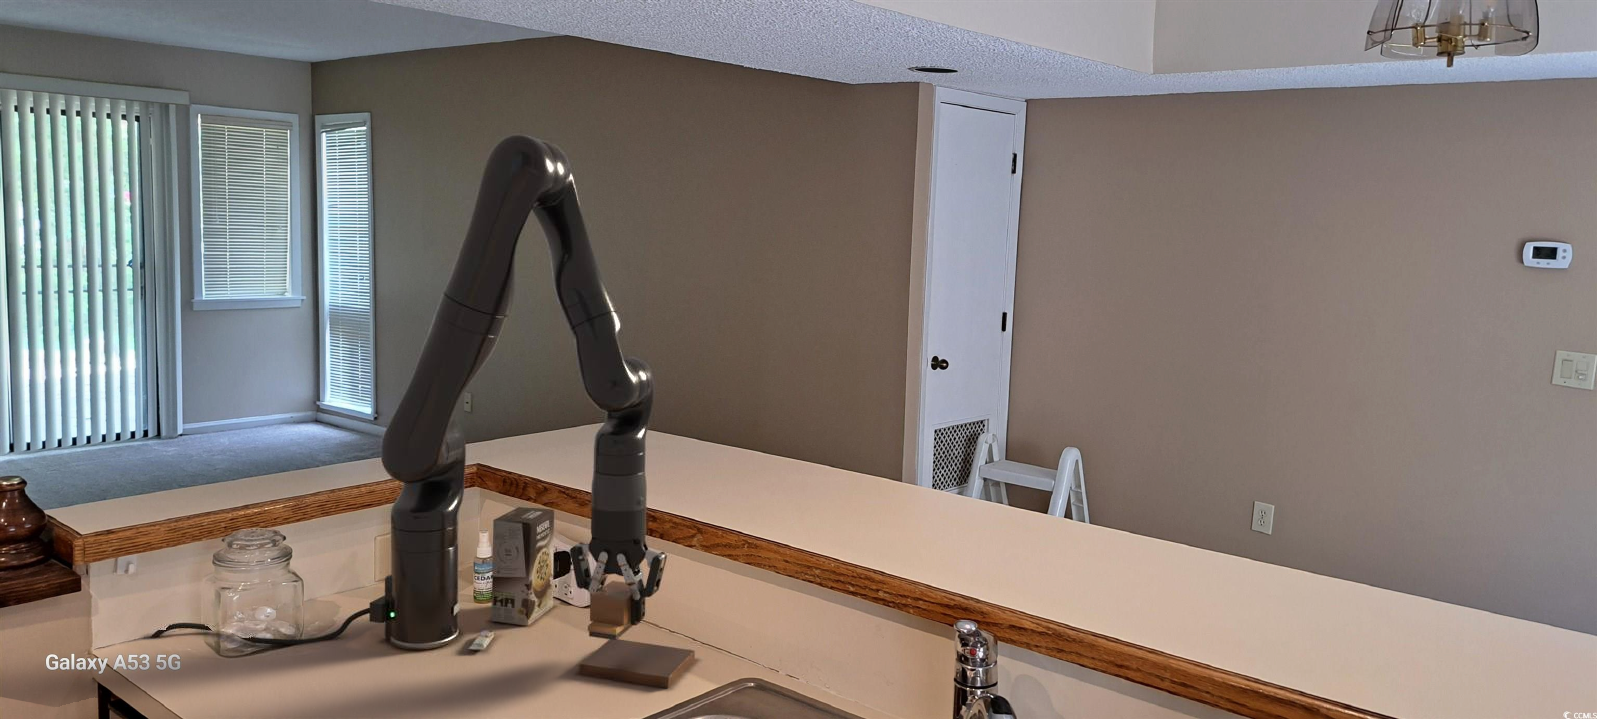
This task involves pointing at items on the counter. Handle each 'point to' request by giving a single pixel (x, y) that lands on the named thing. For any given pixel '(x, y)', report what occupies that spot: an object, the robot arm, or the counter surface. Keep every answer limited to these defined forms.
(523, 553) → the coffee box
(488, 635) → the granola bar
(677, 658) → the board
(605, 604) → the stepped wooden block
